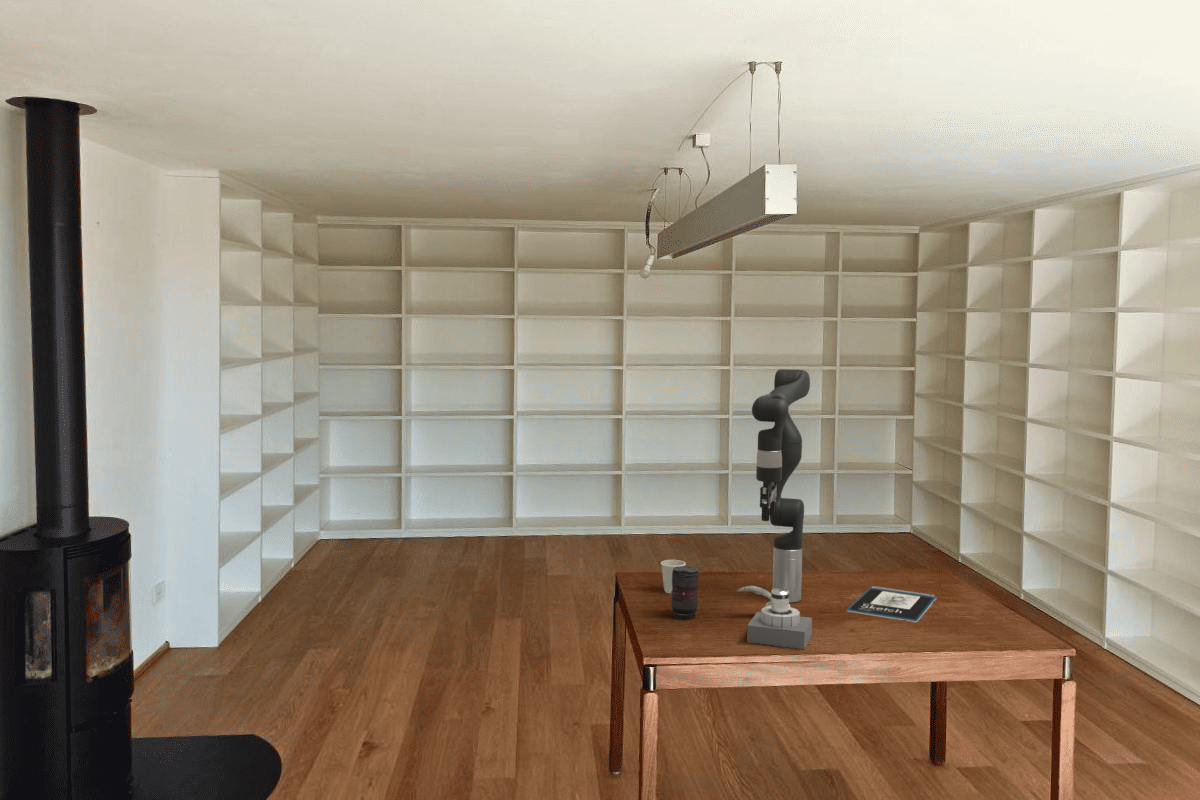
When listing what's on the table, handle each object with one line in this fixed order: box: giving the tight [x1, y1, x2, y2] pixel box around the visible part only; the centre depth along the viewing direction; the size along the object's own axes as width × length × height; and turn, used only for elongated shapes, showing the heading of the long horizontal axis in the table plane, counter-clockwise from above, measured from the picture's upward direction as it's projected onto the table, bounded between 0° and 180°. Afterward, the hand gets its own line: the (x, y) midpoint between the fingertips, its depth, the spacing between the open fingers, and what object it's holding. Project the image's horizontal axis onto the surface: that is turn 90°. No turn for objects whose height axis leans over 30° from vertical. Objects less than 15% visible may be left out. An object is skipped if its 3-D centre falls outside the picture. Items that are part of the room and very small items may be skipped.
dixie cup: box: [660, 559, 687, 594], centre depth 326 cm, size 8×8×10 cm
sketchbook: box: [846, 585, 937, 623], centre depth 313 cm, size 22×30×2 cm
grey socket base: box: [746, 606, 813, 650], centre depth 278 cm, size 14×16×8 cm
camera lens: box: [670, 565, 699, 620], centre depth 298 cm, size 8×8×15 cm
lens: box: [770, 588, 790, 615], centre depth 278 cm, size 5×5×9 cm
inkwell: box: [735, 585, 791, 607], centre depth 298 cm, size 9×18×10 cm, turn 99°
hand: (768, 518), depth 293 cm, fingers open, 8 cm apart
